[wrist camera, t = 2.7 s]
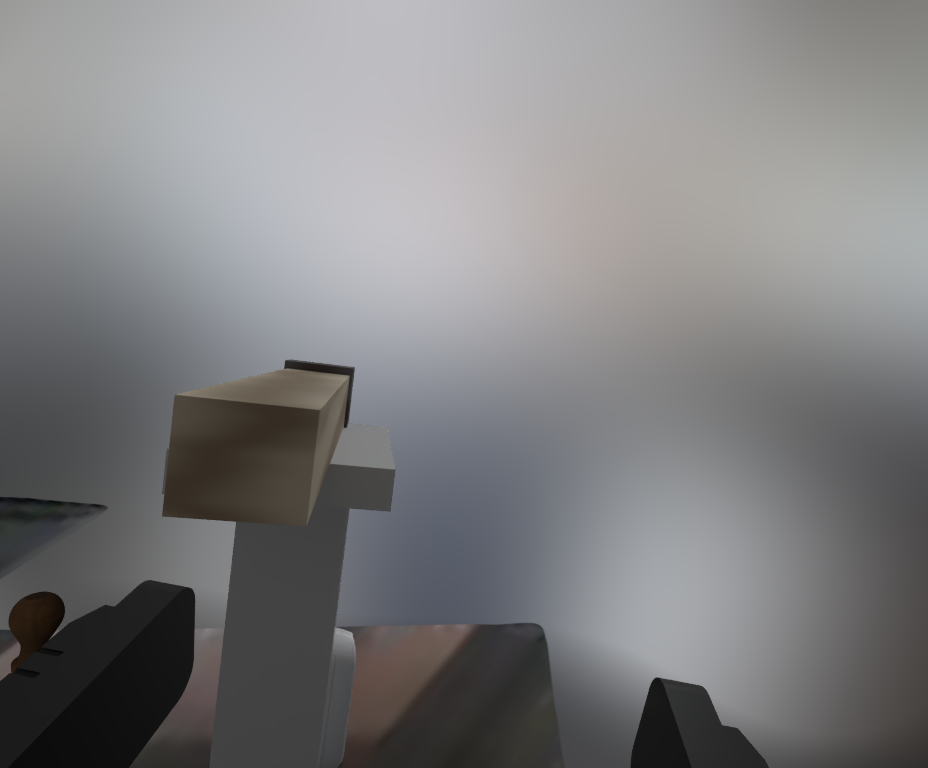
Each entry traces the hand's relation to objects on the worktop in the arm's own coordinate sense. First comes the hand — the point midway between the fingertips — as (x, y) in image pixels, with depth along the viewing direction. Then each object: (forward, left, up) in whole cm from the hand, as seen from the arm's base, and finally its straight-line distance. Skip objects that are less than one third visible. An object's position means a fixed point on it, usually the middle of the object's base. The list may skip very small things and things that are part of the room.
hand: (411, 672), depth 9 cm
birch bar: (+5, -19, 0) cm, 19 cm away
